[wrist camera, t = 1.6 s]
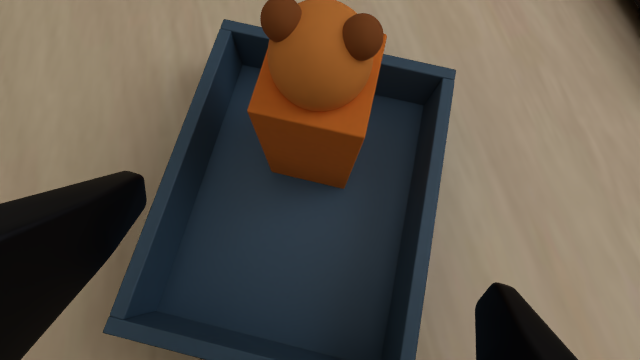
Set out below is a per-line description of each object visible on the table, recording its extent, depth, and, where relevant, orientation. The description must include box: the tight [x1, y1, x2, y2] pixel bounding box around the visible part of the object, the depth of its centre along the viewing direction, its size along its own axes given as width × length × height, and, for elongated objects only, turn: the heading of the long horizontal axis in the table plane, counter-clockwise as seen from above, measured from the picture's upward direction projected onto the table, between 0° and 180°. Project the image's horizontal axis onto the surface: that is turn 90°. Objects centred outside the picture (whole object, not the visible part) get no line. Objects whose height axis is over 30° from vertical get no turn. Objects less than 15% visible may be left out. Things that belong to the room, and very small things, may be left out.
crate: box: [103, 19, 456, 360], centre depth 21 cm, size 20×16×4 cm
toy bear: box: [247, 0, 387, 189], centre depth 17 cm, size 5×5×12 cm
